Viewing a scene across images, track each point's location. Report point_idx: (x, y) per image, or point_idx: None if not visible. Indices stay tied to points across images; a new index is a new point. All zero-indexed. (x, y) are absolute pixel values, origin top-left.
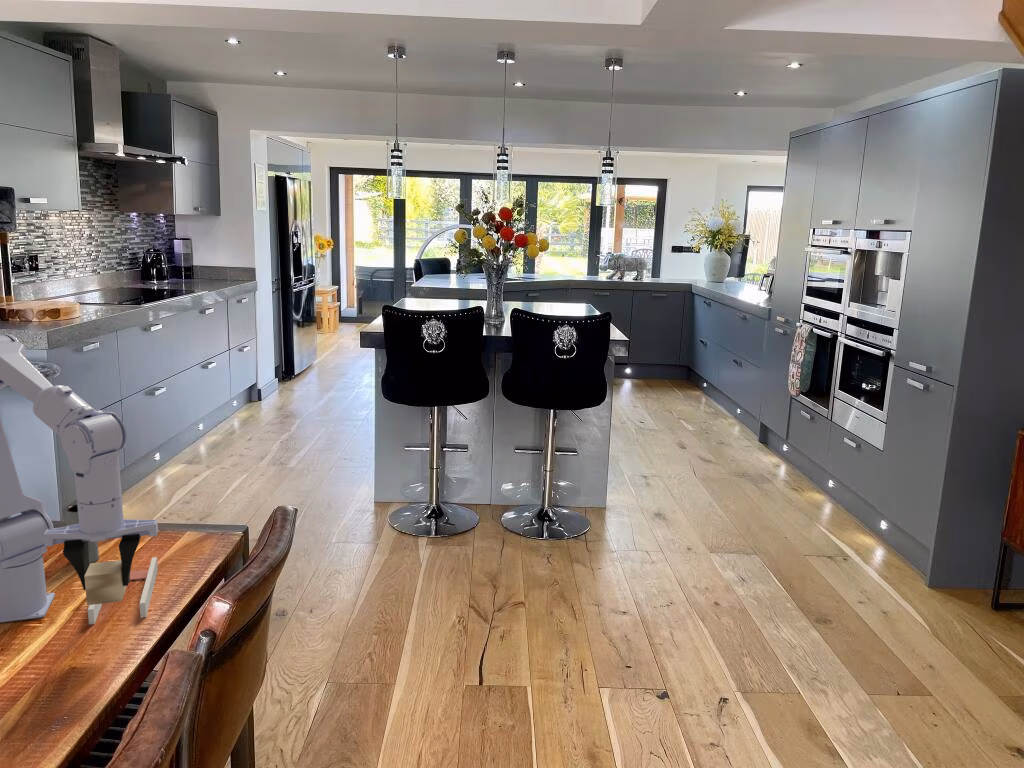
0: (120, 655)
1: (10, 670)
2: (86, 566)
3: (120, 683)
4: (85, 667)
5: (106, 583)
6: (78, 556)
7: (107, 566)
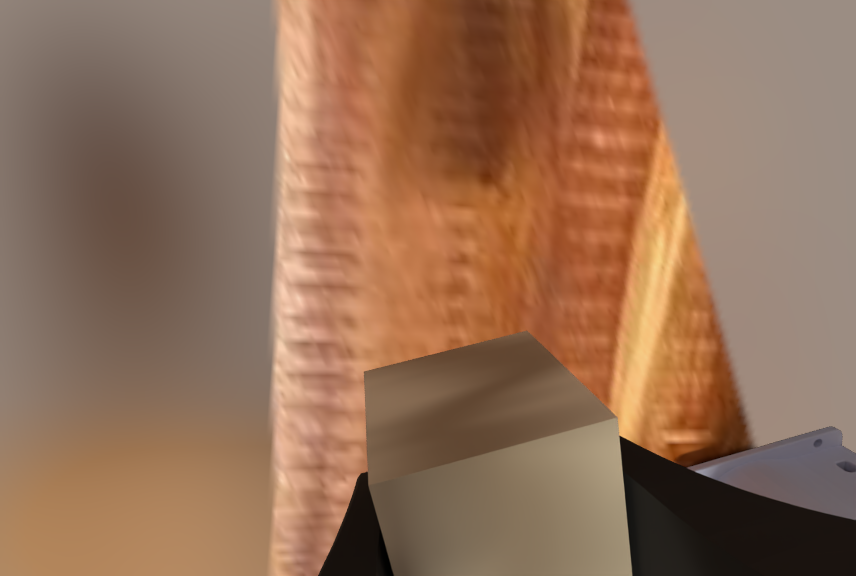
0: (359, 247)
1: (673, 178)
2: (646, 548)
3: (281, 48)
4: (450, 176)
5: (453, 415)
6: (795, 563)
7: (501, 571)
